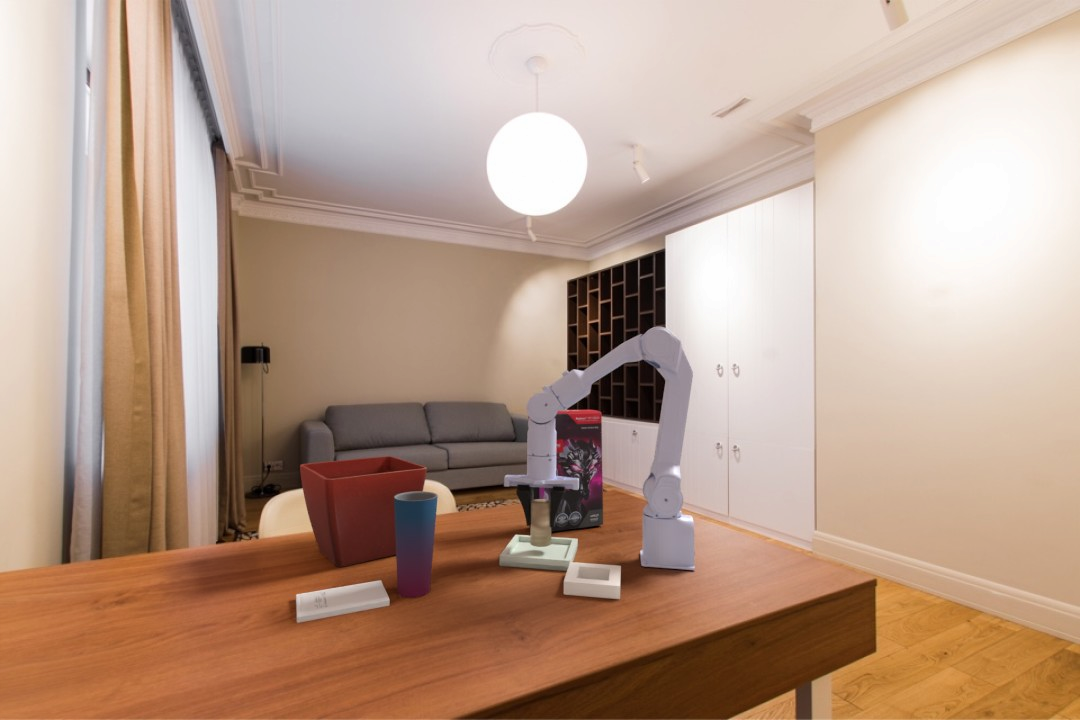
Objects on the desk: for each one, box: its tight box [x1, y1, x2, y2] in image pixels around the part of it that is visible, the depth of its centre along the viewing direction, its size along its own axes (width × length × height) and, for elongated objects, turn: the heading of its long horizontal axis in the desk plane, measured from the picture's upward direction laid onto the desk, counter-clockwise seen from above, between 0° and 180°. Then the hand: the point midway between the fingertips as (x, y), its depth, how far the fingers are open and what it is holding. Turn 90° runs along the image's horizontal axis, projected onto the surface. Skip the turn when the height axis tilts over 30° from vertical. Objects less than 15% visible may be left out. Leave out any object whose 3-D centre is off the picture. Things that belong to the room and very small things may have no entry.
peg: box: [529, 499, 552, 547], centre depth 95 cm, size 4×4×8 cm
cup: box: [394, 490, 439, 599], centre depth 79 cm, size 7×7×15 cm
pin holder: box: [563, 561, 622, 600], centre depth 81 cm, size 9×9×2 cm
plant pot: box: [299, 455, 428, 568], centre depth 97 cm, size 19×19×17 cm
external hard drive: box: [295, 579, 390, 624], centre depth 74 cm, size 2×8×12 cm
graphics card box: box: [527, 409, 604, 533], centre depth 116 cm, size 17×7×27 cm, turn 115°
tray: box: [498, 534, 579, 572], centre depth 95 cm, size 13×13×2 cm
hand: (541, 525), depth 95 cm, fingers closed on peg, 4 cm apart
